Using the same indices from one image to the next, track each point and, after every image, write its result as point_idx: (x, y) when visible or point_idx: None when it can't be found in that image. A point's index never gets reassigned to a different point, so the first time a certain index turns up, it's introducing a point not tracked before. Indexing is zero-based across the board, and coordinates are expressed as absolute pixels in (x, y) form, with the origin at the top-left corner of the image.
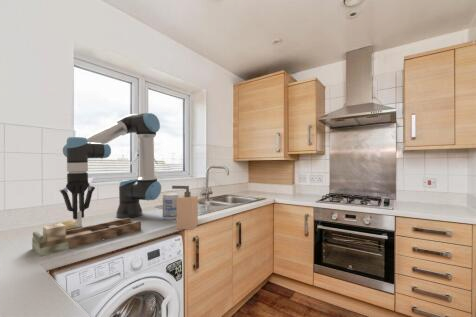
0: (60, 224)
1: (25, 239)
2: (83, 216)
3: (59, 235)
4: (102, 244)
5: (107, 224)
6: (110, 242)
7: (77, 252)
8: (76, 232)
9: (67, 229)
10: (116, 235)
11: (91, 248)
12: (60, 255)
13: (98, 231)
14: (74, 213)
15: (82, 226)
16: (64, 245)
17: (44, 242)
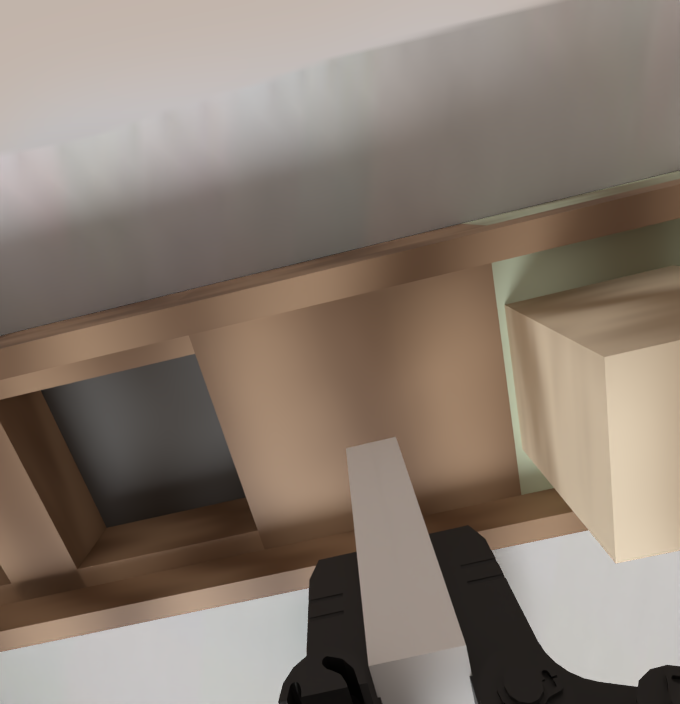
0: (642, 488)
1: None
2: (319, 577)
3: (604, 307)
4: (167, 143)
5: (69, 600)
6: (85, 156)
7: (409, 40)
8: None
9: None
10: (16, 333)
11: (276, 78)
12: (550, 63)
13: (161, 308)
14: (519, 626)
15: None
16: (516, 214)
17: None
